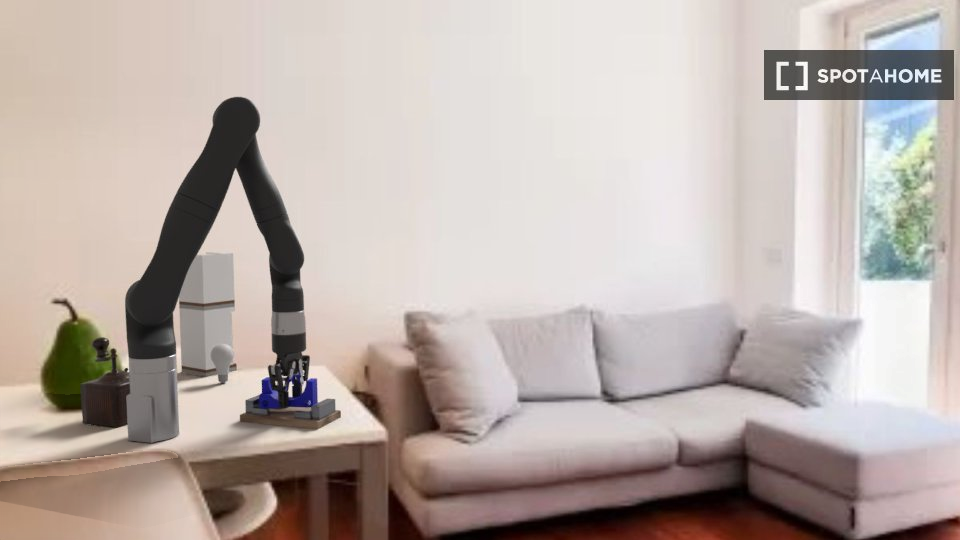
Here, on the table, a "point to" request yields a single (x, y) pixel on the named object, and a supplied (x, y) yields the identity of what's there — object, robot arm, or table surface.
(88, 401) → the manual coffee grinder
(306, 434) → the table surface
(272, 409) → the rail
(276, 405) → the blue curved cradle
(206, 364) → the white square pillar
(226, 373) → the lightbulb
